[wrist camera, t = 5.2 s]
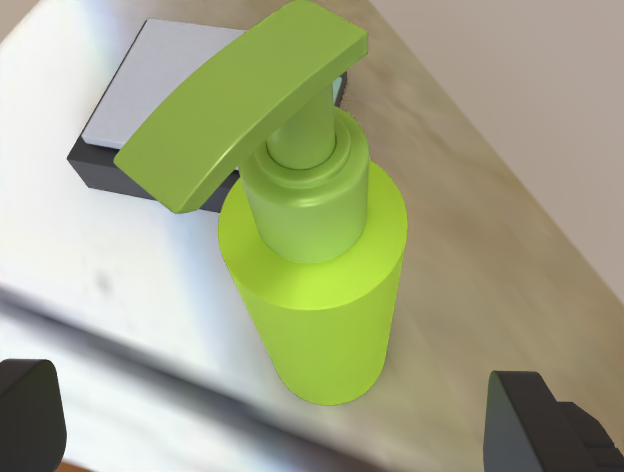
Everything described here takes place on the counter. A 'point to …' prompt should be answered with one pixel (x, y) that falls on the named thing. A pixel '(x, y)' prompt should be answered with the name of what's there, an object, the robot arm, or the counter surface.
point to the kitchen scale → (150, 100)
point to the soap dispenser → (287, 195)
